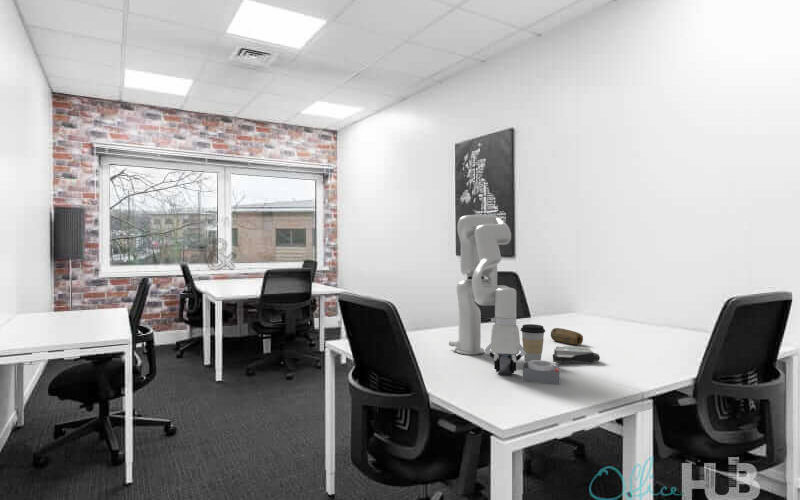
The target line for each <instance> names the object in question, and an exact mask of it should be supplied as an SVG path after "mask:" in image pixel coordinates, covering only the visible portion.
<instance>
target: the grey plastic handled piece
mask: <svg viewBox="0 0 800 500" xmlns="http://www.w3.org/2000/svg"><path fill="white" fill-rule="evenodd" d="M600 358H601V356H600V354H599V353H596V352H594V351H593V350H591V349H590V348H588V347H584V346H573V345H572V346H569V345H567V346H566V345H565V346H556V347H555V348H554V351H553V354H552V363H579V364H581V363H583V364H584V363H585V364H593V363H595V362H599V361H600Z"/></svg>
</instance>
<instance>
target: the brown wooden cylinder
mask: <svg viewBox="0 0 800 500" xmlns="http://www.w3.org/2000/svg"><path fill="white" fill-rule="evenodd" d="M550 338H551V339H552V340H553V341H554V342H558V343H561V344H566V345H572V346H573V345H575V346H577V345H579V346H580V345H582V344H583V342H584V336H583V334H581V333H579V332H577V331H574V330H572V329H571V330H570V329H565V328H560V327H554V328H553V329H551V331H550Z"/></svg>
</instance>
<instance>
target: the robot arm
mask: <svg viewBox="0 0 800 500" xmlns="http://www.w3.org/2000/svg"><path fill="white" fill-rule="evenodd" d="M457 234H458V235H457V236H458V238H459V243H460V272H461V274H462V275H463V276H465V277H472V278H471V279H468V278H467V279H463V280H460V281H459V282H457V285H456V294H457V295H456V296H457V302H458V340H456V341H451V340H449V341H448V346H450V347H455V348H454V352H456V353H457V354H462V355H466V356H467V355H469V356H471V355H474V356H475V355H482V354H484V353H486V354H488V355H489V356H490V358H492V360H493V362H494V363H493V364H494V365H493V368H494V370H495V372H496V373H498V354H510V355H512V374H515V372H516V371H517V362H518V361H519V360H520V359H521V358H522V357H524V355H525V354H526V351H525V350H524V349H523V345H521V343H520V341H521V340H520V339H521V338H520V331H519V329H520V328H519V325H517V290H516V288H513V287H509V286H507V285H505V284H504V285H498V265H499V263H501V261H502V256H501V251H500V245H508V244H510V242H511V239H512V233H511V229H510V227H509V225H508V224H507V223H506V222H505V221H504V220H503V219H501V218H500V217H499V216H497V215H494V214H493V215H491V214H487V215H486V214H485V215H484V214H467V215H463V216H461V217H459V218H458V221H457ZM482 277H483V279H482ZM478 305H479V306H483V307H484V306H494V317H491V318H490V322H492V323H493V324H492V327H491V334H490V335H491V336H490V343H489V344H488V345H487V346H486V348H485V349H484V348H483V347H481V344H482V343H481V340H482V339H481V338H482V337H481V335H482V334H481V332H482V331H481V325H482V324H481V322H482V321H481V317H482V316H481V315H482V314H481V312H482V311H481V309H480V307H479V306H478Z"/></svg>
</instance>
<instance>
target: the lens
mask: <svg viewBox="0 0 800 500" xmlns="http://www.w3.org/2000/svg"><path fill="white" fill-rule="evenodd" d="M512 361H513V358H512V355H510V354H498V372H497V374H498V375H500V376H503V377H507V376H508V377H510V376H512V375H513V373H512Z"/></svg>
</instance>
